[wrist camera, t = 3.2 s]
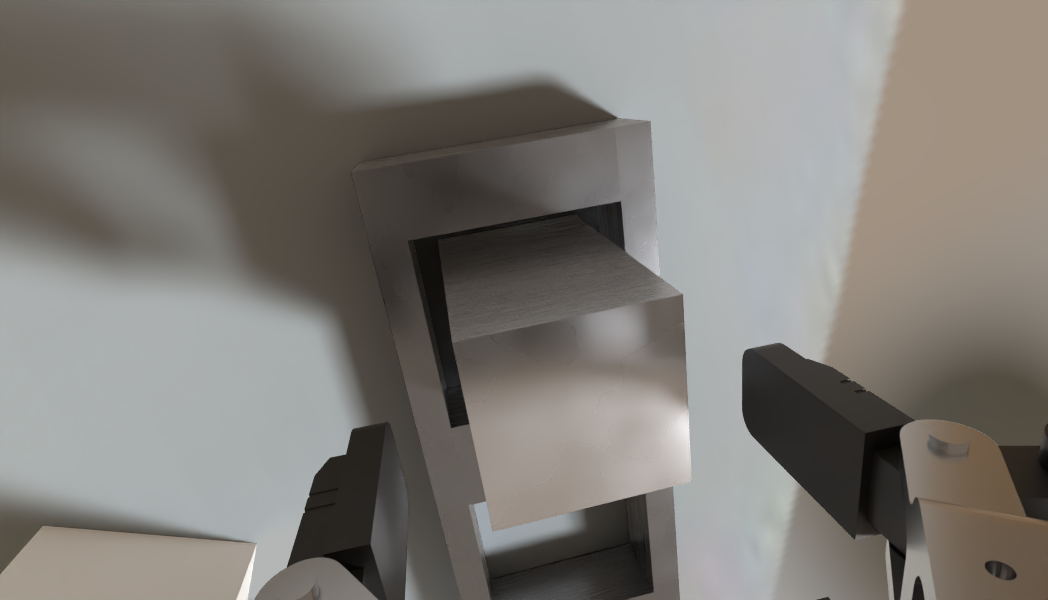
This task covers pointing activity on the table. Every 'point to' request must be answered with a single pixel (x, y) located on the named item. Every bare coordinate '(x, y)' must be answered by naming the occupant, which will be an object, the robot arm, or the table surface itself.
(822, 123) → the table surface
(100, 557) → the white angular block
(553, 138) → the rail
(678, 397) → the pale grey square box
